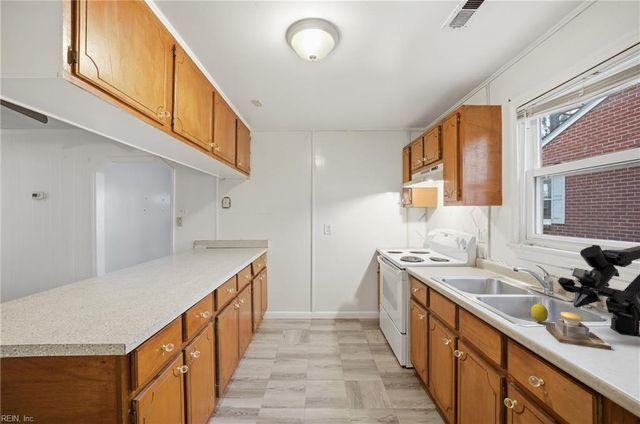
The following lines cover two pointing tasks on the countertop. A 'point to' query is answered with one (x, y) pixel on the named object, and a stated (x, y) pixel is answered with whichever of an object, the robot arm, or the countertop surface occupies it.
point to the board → (576, 335)
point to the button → (571, 318)
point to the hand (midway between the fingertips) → (575, 306)
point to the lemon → (539, 312)
